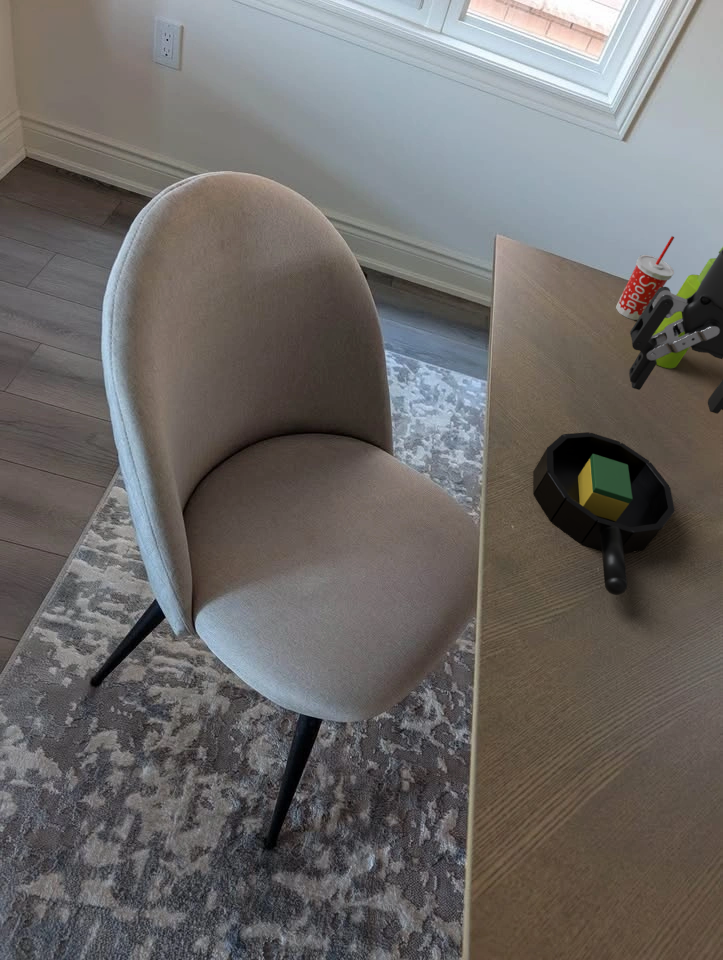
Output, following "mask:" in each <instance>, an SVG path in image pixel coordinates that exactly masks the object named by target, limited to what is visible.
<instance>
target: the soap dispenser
mask: <svg viewBox="0 0 723 960" xmlns="http://www.w3.org/2000/svg"><path fill="white" fill-rule="evenodd" d="M722 248H723V246H722V247H721V248H720V249H719V251H718V254H719V253H720V252H721V250H722ZM716 258H717V257H712V258H709V259H708V261H707V262H706V264H705V265H704V267H703V268H702V270H701V271H700V273H699V274H690V275H688V276H687V277H686V279H685V280H684V282H683V283H682V285H681V286H680V288H679V290H678V291H677V293H676V295H677V296H679V297H682V298H685V299H687V298H689V297H690V296H692V295H693V294H694V293H695V292H696V291H697V290H698V288H699V286H700V284H701V282H702V280H703V279H704V277H705V275H706V274H707V272H708V271H709V269H710V267H711V266H712V264H713V263H714V261H715V260H716ZM681 318H682V312H681V311H679V312H676V313H674V314H673V315H672V316H671V317H670V318H664V320H663V321H662V323H661V324H660V326H659V327H658V328H657V330H656V331H655V333H654V334H653V335H655V334H657V333H659V332H661V331H663V330H664V329H665V327H666V326H667V325H669V324H671V323H673V322H675V321H677V320H679V319H681ZM683 335H685V333H684V332H682V333H681V334H680V335H679V336H678V337H681V336H683ZM689 349H690V347H688V348H686V349H684V350H682V351H680V352H678V353H674V352H671V353H669V354H667V355H665V356H663V357H660V358H658V359H656V361H657V364H656V366H658V367H660V368H664V369H674V368H677V367H678V365H679V363H680V362H681V361H682V359H683V358H684V356H685V354H687V352H688V350H689Z"/></svg>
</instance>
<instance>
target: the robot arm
mask: <svg viewBox="0 0 723 960" xmlns="http://www.w3.org/2000/svg"><path fill="white" fill-rule="evenodd" d="M721 248H722V247H721ZM720 250H721V249H720ZM715 258H716V260H715V261H714V263H713V264H712V266H711V267H710V269H709V271H708V272H707V274H706V275H705V277H704V279H703V280H702V282H701V284H700V286H699V288H698V290H697V291H696V292H695V293H694V294H693V295H692V296H690V297H689V298H687V299H685V298H682V297H679V296H677V294H674V293H672V292H671V289H670V288H669V287H668V286H663V287H661V288H659V289H658V291H657V292H656V294H655V295H654V297H653V298H652V300H651V301H650V303H649V304H648V306H647V307H646V308H645V310H644V311H643V313H642V314H641V316H640V317H639V319H638V320H636V322H635V323H634V325H633V327H632V328H631V329H630V332H629V334H630V338H631V345H632V346H631V347H632V349H634V350H635V351H640V352H639V354H638V355H637V357H636V359H634V362H633V364H632V365H631V367H630V368H629V370H628V371H629V372H628V375H629V381H630V383H631V388H632V389H635V390H638V391H641V389H642V388H643V386H644V385H645V383H646V382H647V380H648V378H649V376H651V373H652V372H653V370H654V369H655V367H656V366H657V365H656V364H657V361H656V359H658V358H660V357H663V356H665V355H667V354H669V353H671V352H674V353H678V352H680V351H682V350H684V349H686V348H688V347H689V348H691V350H692V351H695V352H698V353H704V354H705V353H706V354H709V355H711V356H712V357H714V358H717V359H719V360H723V248H722V250H721V252H720V253H719V252H718V255H717V256H716V257H715ZM679 311H681V312H682V318H681V319H679V320H677V321H675V322H673V323H671V324H669V325H667V326H666V327H665V329H664V330H663V331H661V332H659V333H657V334H655V335H653V334H654V333H655V331H656V330H657V328H658V327H659V326H660V324H661V323H662V321H663V320H664V318H670V317H671V316H672V315H673V314H674V313H676V312H679ZM682 332H684V333H685V335H683V336H681V337H678V336H679V335H680V334H681V333H682ZM707 406H708V410H709V412H710V413H714V414H719V413H720V412H721V411H723V379H722V380H721V381H720V383H719V384H718V385H717V387H716V388H715V389H714V391H713V392H712V394H711V395H710V396H709V398H708V400H707Z"/></svg>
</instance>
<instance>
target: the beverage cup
mask: <svg viewBox="0 0 723 960" xmlns="http://www.w3.org/2000/svg"><path fill="white" fill-rule="evenodd" d="M674 239H675V236H673V235H671V237H670V238H669V240H668V242H667V244H666V245H665V247H664V249H663V250H662V252H661V254H660V255H659V257H655V256H653V255H650V254H642V255H640V256H638V258H637V260H636V262H635V263H636V264H635V267H634V269H633V271H632V273H631V275H630V277H629V278H628V281H627V283H626V285H625V287H624V289H623V291H622V294H621V295H620V297H619V300H618V302H617V303H616V306H615V308H616V310H617V312H618V313H619V314H620V315H621V316H623V317H625V318H626V319H630V320H633V321H637V320H638V319H639V317H640V316H641V314H642V313H643V311H644V310H645V308H646V307H647V306H648V304H649V303H650V301H651V300H652V298H653V297H654V295H655V294H656V292H657V291H658V289H659V288H661V287H665V285H666V283H667V282H668V281H669V280H671V278H672V277H673V276H674V274H675V270H674V269H673V267H672V266H671V265H670V264H668V263H667V262H666V261H664V260H662V259H663V258H664V257H665V254H666V252H667V251H668V249H669V248H670V246H671V244H672V242H673V241H674Z"/></svg>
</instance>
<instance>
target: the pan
mask: <svg viewBox="0 0 723 960" xmlns="http://www.w3.org/2000/svg"><path fill="white" fill-rule="evenodd" d="M592 454H596V455H599V456H602V457H605V458H608V459H611V460H615V461H618V462H621V463H624V464H627V465H628V469H629V476H630V483H631V491H632V498H633V499H632V501H631V502H630V503H629V505H628V506H627V507H626V509H625V510H624V511H623V513H622V514H621V515H620V517H619V518H618V519H617V521H612V520H609V519H606V518H603V517H599V516H596V515H595V514H593V513H592V512H590V511H589V510H588V509H586V508H585V507H583V506H582V505H581V504H580V501H579V485H578V476H579V474H580V473H581V471H582V470H583V468H584V466H585V465H586V463H587V462H588V460H589V459H590V457H591V456H592ZM532 477H533V479H532V494H533V497H534V498H535V500H536V502H537V503H538V505H539V506H540V508H541V509H542V512H544V514H545V516H546V517H547V519H548V520H549V522H551V524H553V525H554V526H556V527H557V528H558V529H560V530H561V531H562V532H564V533H565V534H566V535H568V536H569V537H571V538H572V539H573V540H575V541H576V542H577V543H578V544H581V545H582V546H586V547H589V548H592V549H595V550H599V551H601V556H602V557H601V558H602V569H603V580H604V587H605V590H606V591H607V592H608V593H609V594H610V595H613V596H620V595H622V594H624V593H625V592H626V590H627V588H628V577H627V571H626V570H627V569H626V560H625V554H631V553H637V552H643V551H645V550H646V549H647V548H648V546H650V544H651V542H652V541H653V540H654V539H655V538H656V536H657V535H658V534H659V533H660V532H661V530H662V529H663V528H664V526H666V524H667V522H668V521H669V520H670V519H671V517H672V516H673V515H674V513H675V506H674V500H673V495H672V489H671V486H670V485H669V483H668V482H667V481H666V480H665V479H664V477H663V475H662V474H661V473H660V472H659V470H658V469H657V468H656V467H655V465H654V464H653V463H652V462H650V460H649V459H647V458H646V457H644V456H642V455H641V454H640V453H638V451H637V452H636V451H635V450H634V449H632V448H631V447H630V446H628V445H627V444H625V443H623V442H621V441H618V440H615V439H612V438H610V437H606V436H603V435H600V434H596V433H594V432H589V431H588V432H586V431H585V432H574V433H571V432H570V433H563V434H561V435H560V436H558V438H556V439H555V440H554V441H553V442H552V443H551V444H549V446H547V447H546V449H545V450H544V452H543V454H542V455H541V457H540V459H539V461H538V462H537V464H536V466H535V468H534V470H533V472H532Z"/></svg>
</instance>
